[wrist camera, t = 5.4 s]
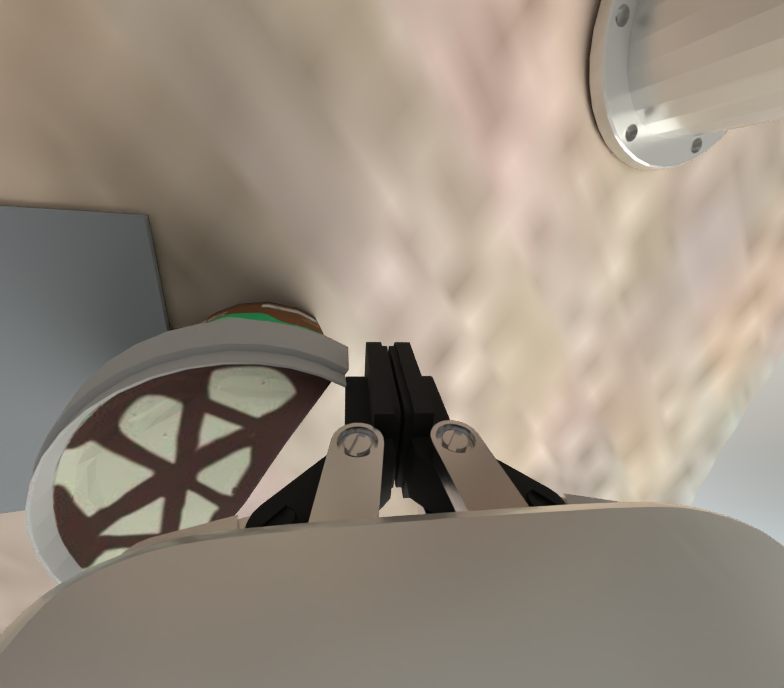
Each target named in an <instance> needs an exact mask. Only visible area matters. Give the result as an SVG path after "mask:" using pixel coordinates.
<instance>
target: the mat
mask: <svg viewBox="0 0 784 688" xmlns="http://www.w3.org/2000/svg"><path fill="white" fill-rule="evenodd" d="M167 331H170V327H169V322H168V317H167V312H166V307H165V301H164V296H163V291H162V286H161V281H160V276H159V271H158V266H157V261H156V255H155V250H154V245H153V240H152V235H151V230H150V225H149V220H148V215H141V214H125V213H110V212H94V211H78V210H62V209H46V208H30V207H15V206H0V514H1V513H8V512H15V511H22V510H25V507H26V502H27V496H28V491H29V485H30V481H31V479H32V474H33V468H34V463H35V460H36V458H37V456H38V454H39V452H40V449H41V447H42V445H43V443H44V441H45V439H46V436H47V435H48V433H49V432H50V430H51V429H52V427H53V426H54V424H55V423H56V421H57V420H58V418H59V417H60V415H61V414H62V412H63V411H64V409H65V408H66V406H67V405H68V403H69V402H70V401H71V399H72V398H73V397H74V395H75V394H76V393H77V391H78V390H79V389H80V387H81V386H82V385H83V383H84V382H85V381H86V380H87V379H89V378H90V377H91V376H92V375H93V374H94V373H95V372H96V371H98V370H99V369H100V368H101V367H102V366H103V365H104V364H105V363H106V362H108V361H109V360H111V359H113V358H114V357H116V356H117V355H119V354H121V353H122V352H124V351H126V350H127V349H129V348H130V347H132V346H134V345H135V344H138V343H140V342H143V341H145V340H147V339H150V338H152V337H155V336H157V335H160V334H162V333H164V332H167Z"/></svg>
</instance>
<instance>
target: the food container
mask: <svg viewBox="0 0 784 688" xmlns="http://www.w3.org/2000/svg"><path fill="white" fill-rule="evenodd" d="M348 370H349V362H348V347H347V346H345V345H343V344H341V343H339V342H337V341H335V340H333V339H331V338H329V337H327V336H325V335H324V334H323V332H322V330H321V328H320V326H319V324H318V322H317V320H316V318H315V317H313V316H311V315H309V314H307V313H305V312H303V311H302V310H300V309H298V308H294V307H289V306H285V305H280V304H276V303H271V302H263V303H247V304H239V305H236V306H233V307H231V308H228V309H225V310H223V311H220V312H218V313H215V314H213V315H211V316H210V317H209V318H207V319H206V320H204V321H203V322H202V323H199V324H195V325H191V326H187V327H183V328H179V329H175V330H171V331H167V332H164V333H162V334H160V335H157V336H155V337H152V338H150V339H147V340H145V341H143V342H140V343H138V344H135V345H134V346H132V347H130V348H129V349H127V350H126V351H124V352H122V353H121V354H119V355H117V356H116V357H114V358H113V359H111V360H109V361H108V362H106V363H105V364H104V365H103V366H102V367H101V368H100V369H99V370H98V371H96V372H95V373H94V374H93V375H92V376H91V377H90V378H89V379H87V380H86V381H85V382H84V383H83V385H82V386H81V387H80V389H79V390H78V391H77V393H76V394H75V395H74V397H73V398H72V399H71V401H70V402H69V403H68V405H67V406H66V408H65V409H64V411H63V412H62V414H61V415H60V417H59V418H58V420H57V421H56V423H55V424H54V426H53V427H52V429H51V430H50V432H49V433H48V435H47V436H46V439H45V441H44V443H43V445H42V447H41V449H40V452H39V454H38V456H37V458H36V460H35V463H34V468H33V474H32V479H31V481H30V485H29V491H28V496H27V502H26V507H25V511H26V522H27V533H28V536H29V539H30V541H31V544H32V547H33V549H34V552H35V555H36V557H37V558H38V560H39V561H40V563H41V564H42V566H43V567H44V568H45V570H46V571H47V573H48V574H49V576H50V577H51V578H52V579H53V580H54V581H55V582H56V583H58V584H60V583H62V582H64V581H66V580H68V579H69V578H71V577H73V576H75V575H77V574H78V573H80V572H82V571H84V570H87V569H89V568H91V567H93V566H95V565H97V564H99V563H102V562H104V561H107V560H109V559H112V558H114V557H117V556H119V555H121V554H122V553H123V552H124V551H126V550H127V549H129V548H130V547H132V546H133V545H135V544H136V543H138V542H141V541H143V540H146V539H148V538H151V537H155V536H159V535H163V534H166V533H170V532H174V531H178V530H182V529H185V528H189V527H193V526H197V525H201V524H204V523H208V522H212V521H216V520H220V519H223V518H227V517H231V516H235V514H236V513H237V512H238V511H239V509H240V508H241V507H242V506H243V505H244V504H245V502H246V501H247V499H248V498H249V496H250V495H251V493H252V492H253V490H254V489H255V488H256V486H257V485H258V483H259V482H260V480H261V479H262V477H263V476H264V474H265V473H266V471H267V470H268V468H269V467H270V465H271V464H272V462H273V461H274V460H275V458H276V457H277V455H278V454H279V452H280V451H281V449H282V448H283V447H284V445H285V444H286V442H287V441H288V439H289V438H290V437H291V435H292V434H293V433H294V431H295V430H296V429H297V427H298V426H299V425H300V423H301V422H302V421H303V419H304V418H305V417H306V415H307V414H308V413H309V411H310V410H311V409H312V407H313V406H314V405H315V403H316V402H317V400H318V399H319V398H320V396H321V395H322V394H323V392H324V391H325V390H326V388H327V387H328V386H329V384H330V383H331V382H334V383H336V384H339V385H341V386H343V387H346V385H347V384H346V379H345V374H346V373H347V371H348Z"/></svg>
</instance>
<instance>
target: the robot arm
mask: <svg viewBox="0 0 784 688" xmlns="http://www.w3.org/2000/svg"><path fill="white" fill-rule="evenodd" d="M590 92H591V101H592V108H593V112H594V115H595V119H596V122H597V126H598V129H599V131H600V133H601V135H602V137H603V139H604V141H605V143H606V145H607V146H608V147H609V148H610V150H611V151H612V152H613V153H614V154H615V156H616V157H617V158H619V159H620V160H621V161H623V162H624V163H626V164H627V165H629V166H632V167H635V168H638V169H641V170H659V169H665V168H672V167H677V166H680V165H682V164H685V163H688V162H690V161H692V160H694V159H695V158H697V157H698V156H700V155H702V154H703V153H705V152H706V151H707V150H708V149H710V148H711V147H712V146H713V145H714V144H715V143H716V142H717V141H719V140H720V139H721V138H722V137H723V135H724V134H725V133H726V132H727V131H728V130H730V129H735V128H741V127H746V126H751V125H756V124H761V123H766V122H772V121H777V120H782V119H784V0H601V3H600V7H599V11H598V15H597V19H596V23H595V26H594V31H593V39H592V46H591V53H590ZM346 384H347V385H346V387H345V425H344V426H343V427H341V428H339V429H338V430H337V431H336V432H335V433H334V434H333V436H332V438H331V442H330V445H329V449H328V453H327V455H326V456H325V457H324V458H322V459H321V460H320V461H318V462H317V463H316V464H314V465H313V466H312V467H310V468H309V469H308V470H306V471H305V472H304V473H303V474H301V475H300V476H299V477H297V478H296V479H295V480H293V481H292V482H291V483H289V484H288V485H287V486H285V487H284V488H283V489H282V490H280V491H279V492H278V493H276V494H275V495H274V496H272V497H271V498H270V499H268V500H267V501H266V502H264V503H263V504H262V505H261V506H259V507H258V508H257V509H256V510H255V511H254V512H253V513H252V515H251V516H249V517H245V518H241V519H239V518H238V515H235V516H231V517H227V518H223V519H220V520H216V521H212V522H208V523H204V524H201V525H197V526H193V527H189V528H185V529H182V530H178V531H174V532H170V533H166V534H163V535H159V536H155V537H151V538H148V539H146V540H143V541H141V542H138V543H136V544H135V545H133V546H132V547H130V548H129V549H127V550H126V551H124V552H123V553H122V554H121V555H119V556H117V557H114V558H112V559H109V560H107V561H104V562H102V563H99V564H97V565H95V566H93V567H91V568H89V569H87V570H84V571H82V572H80V573H78V574H77V575H75V576H73V577H71V578H69V579H68V580H66V581H64V582H62V583H60V584H59V585H57V586H56V587H54V588H53V589H52V590H50V591H49V592H47V593H46V594H44V595H43V596H41V597H40V598H39V599H38V600H36V601H35V602H34V603H33V604H32V605H30V606H29V607H28V608H27V609H26V610H24V611H23V612H22V613H21V614H20V615H19V616H18V617H17V618H16V619H15V620H14V621H13V622H12V623H11V624H10V625H9V626H8V627H7V628H6V629H5V630H4V631H3V632H2V633H1V634H0V688H784V546H783V545H781V544H780V543H779V542H778V541H776V540H775V539H773V538H772V537H770V536H769V535H767V534H766V533H764V532H762V531H761V530H759V529H757V528H755V527H753V526H751V525H749V524H746V523H744V522H741V521H739V520H737V519H734V518H731V517H728V516H725V515H722V514H718V513H715V512H711V511H707V510H704V509H700V508H696V507H690V506H684V505H678V504H670V503H656V502H617V501H611V500H604V499H597V498H590V497H584V496H577V495H570V494H564V495H563V497H562V498H561V497H560V496H559V495H558V494H557V493H555V492H554V491H552V490H551V489H549V488H548V487H546V486H544V485H542V484H540V483H539V482H537V481H535V480H533V479H531V478H530V477H528V476H526V475H524V474H522V473H521V472H519V471H517V470H515V469H513V468H512V467H510V466H508V465H506V464H504V463H503V462H501V461H499V460H497V459H496V458H495V457H494V456H493V454H492V453H491V451H490V450H489V448H488V447H487V446H486V444H485V443H484V441H483V440H482V439H481V437H480V436H479V434H478V433H477V432H476V431H475V430H474V429H473V428H472V427H470V426H469V425H467V424H465V423H462V422H459V421H454V420H450V419H449V416H448V414H447V411H446V409H445V407H444V404H443V402H442V399H441V397H440V394H439V392H438V389H437V387H436V384H435V382H434V380H433V378H432V377H431V376H421V373H420V370H419V367H418V364H417V362H416V359H415V356H414V353H413V351H412V348H411V345H410V343H409V342H395V343H394V346H389V349H387V346H382V344H381V342H366V355H365V377H346ZM394 480H395V486H396V487H401V488H402V494H403V498H411V499H412V500H414V501H415V502H417V503H418V511H419V515H406V516H392V517H379V510H380V509H381V508H382V507H383V506H384V505H385V504H386V502H387V501H388V500H389V499H390V496H391V488H393V486H394Z"/></svg>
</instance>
